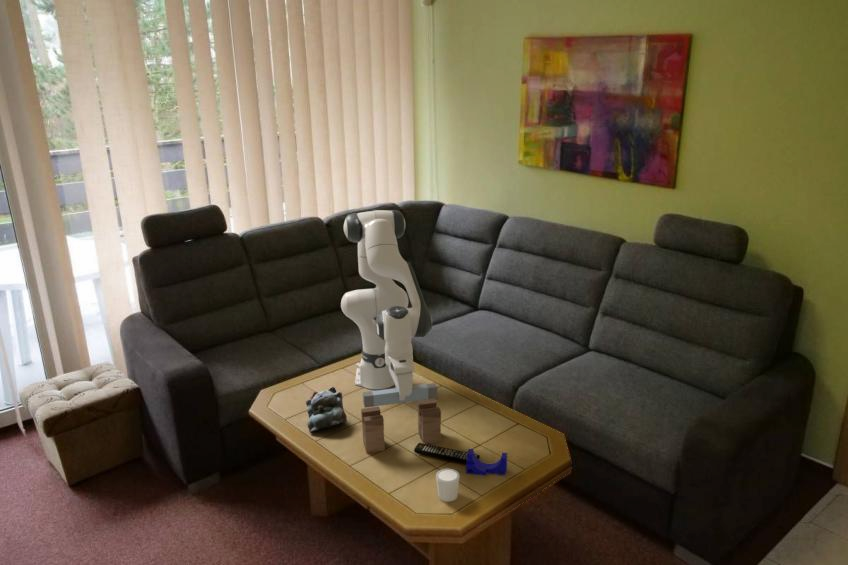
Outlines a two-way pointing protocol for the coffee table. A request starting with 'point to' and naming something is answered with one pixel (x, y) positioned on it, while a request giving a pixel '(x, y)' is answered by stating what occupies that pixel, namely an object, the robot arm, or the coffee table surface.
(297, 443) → the coffee table surface
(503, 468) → the cable clip
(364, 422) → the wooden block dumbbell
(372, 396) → the bed rail
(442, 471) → the shot glass
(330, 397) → the lucky cat figurine
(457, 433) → the coffee table surface
